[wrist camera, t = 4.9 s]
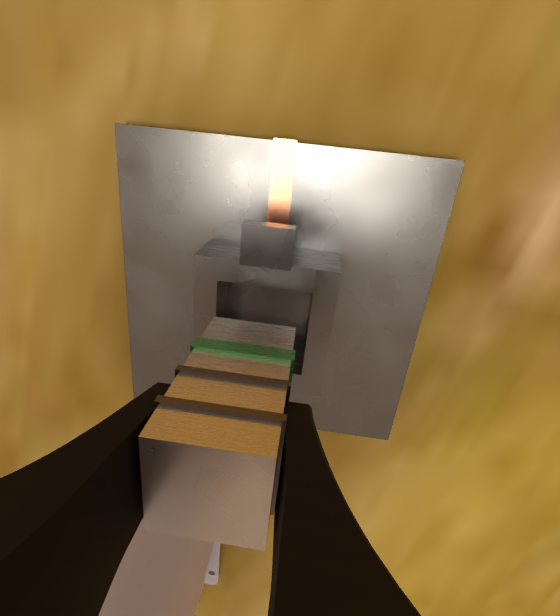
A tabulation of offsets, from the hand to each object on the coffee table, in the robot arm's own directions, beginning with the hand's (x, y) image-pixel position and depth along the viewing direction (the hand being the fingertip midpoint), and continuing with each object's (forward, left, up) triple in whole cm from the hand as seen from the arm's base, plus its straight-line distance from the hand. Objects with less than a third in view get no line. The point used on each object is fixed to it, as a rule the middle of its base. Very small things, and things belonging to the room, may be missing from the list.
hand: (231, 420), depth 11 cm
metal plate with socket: (0, 0, -10) cm, 10 cm away
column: (0, 0, -4) cm, 4 cm away
